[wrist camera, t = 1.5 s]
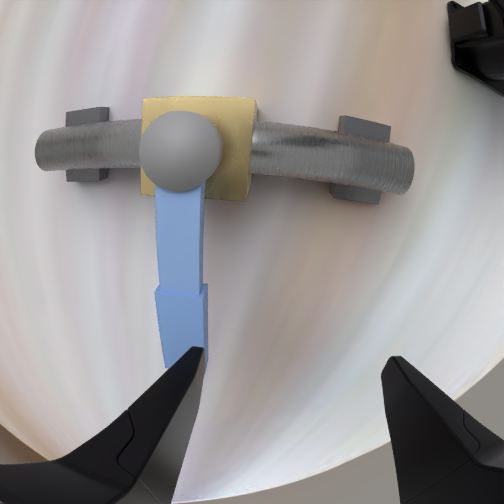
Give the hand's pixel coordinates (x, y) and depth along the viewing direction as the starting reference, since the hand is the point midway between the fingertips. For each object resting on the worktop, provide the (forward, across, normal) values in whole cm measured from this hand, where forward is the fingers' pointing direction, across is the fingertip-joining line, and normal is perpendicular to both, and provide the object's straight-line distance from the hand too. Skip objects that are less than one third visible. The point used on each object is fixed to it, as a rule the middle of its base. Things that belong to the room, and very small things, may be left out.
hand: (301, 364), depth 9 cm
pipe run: (+11, +5, -6) cm, 13 cm away
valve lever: (+5, +5, -1) cm, 7 cm away
